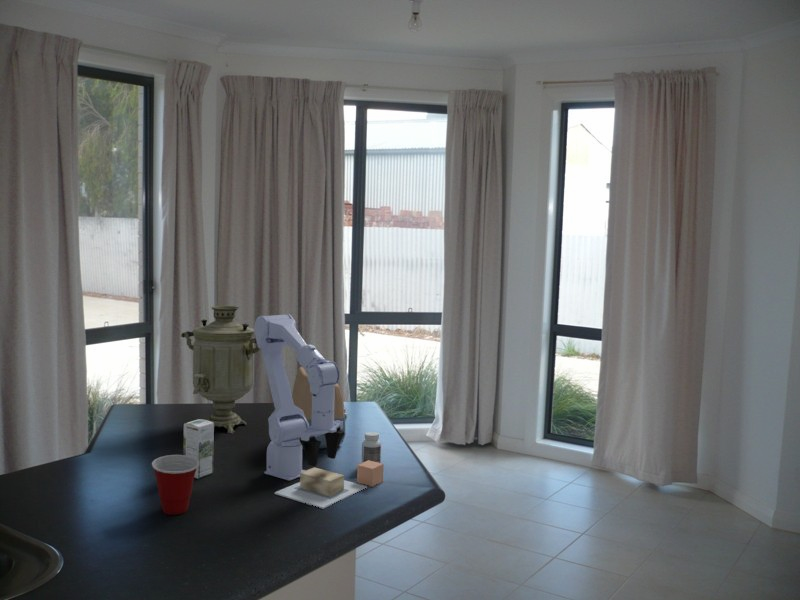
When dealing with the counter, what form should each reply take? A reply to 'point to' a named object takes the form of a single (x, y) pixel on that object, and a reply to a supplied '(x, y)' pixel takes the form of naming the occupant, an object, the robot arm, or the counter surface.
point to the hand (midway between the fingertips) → (321, 461)
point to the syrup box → (200, 445)
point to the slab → (322, 481)
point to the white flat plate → (317, 498)
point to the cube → (370, 473)
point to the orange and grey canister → (304, 402)
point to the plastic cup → (175, 481)
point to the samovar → (223, 363)
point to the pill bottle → (371, 447)
